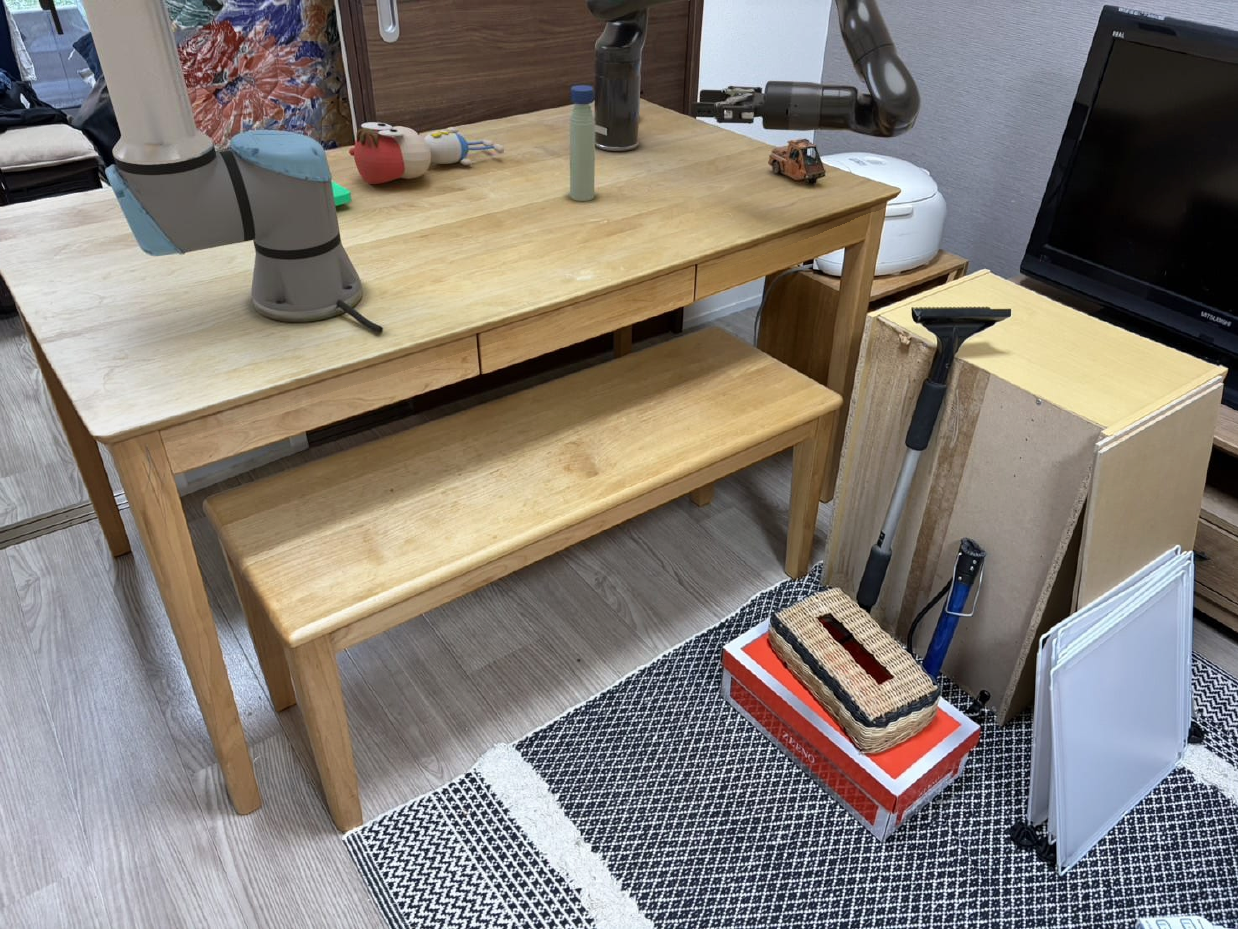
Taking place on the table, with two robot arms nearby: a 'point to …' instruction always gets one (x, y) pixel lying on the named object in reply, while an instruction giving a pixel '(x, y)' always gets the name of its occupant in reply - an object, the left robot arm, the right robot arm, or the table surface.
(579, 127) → the bottle
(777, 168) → the toy car
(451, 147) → the toy
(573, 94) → the cap
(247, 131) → the left robot arm
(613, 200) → the table surface
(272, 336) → the table surface
